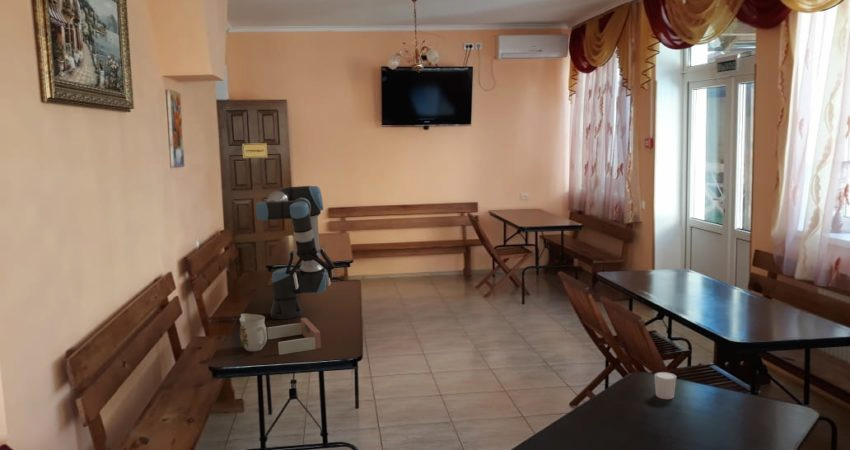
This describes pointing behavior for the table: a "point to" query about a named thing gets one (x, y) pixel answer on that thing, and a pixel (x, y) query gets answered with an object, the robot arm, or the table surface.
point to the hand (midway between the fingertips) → (313, 286)
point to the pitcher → (253, 331)
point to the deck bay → (305, 328)
